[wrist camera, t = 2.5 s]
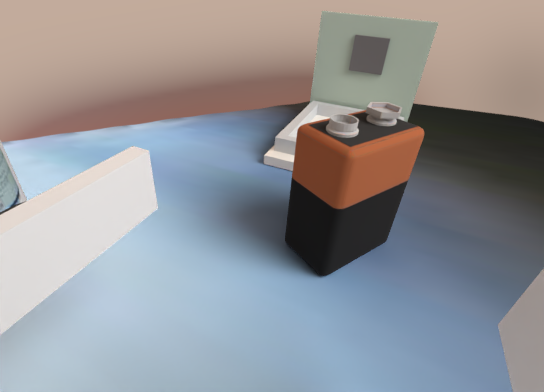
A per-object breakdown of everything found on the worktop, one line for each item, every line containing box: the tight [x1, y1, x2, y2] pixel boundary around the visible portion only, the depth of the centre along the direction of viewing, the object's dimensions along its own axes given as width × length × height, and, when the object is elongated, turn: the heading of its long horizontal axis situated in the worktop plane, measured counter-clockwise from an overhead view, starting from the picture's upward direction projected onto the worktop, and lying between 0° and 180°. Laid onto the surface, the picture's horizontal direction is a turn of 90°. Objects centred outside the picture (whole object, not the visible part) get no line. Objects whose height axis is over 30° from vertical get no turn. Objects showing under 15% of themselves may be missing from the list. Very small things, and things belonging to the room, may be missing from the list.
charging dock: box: [264, 11, 438, 171], centre depth 34 cm, size 17×13×13 cm
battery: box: [285, 102, 424, 276], centre depth 20 cm, size 4×7×10 cm, turn 126°
